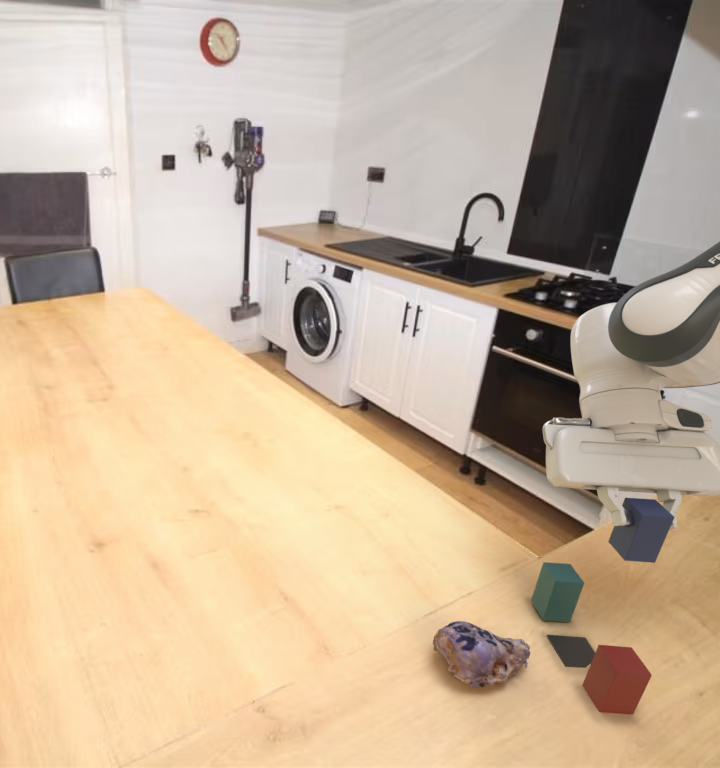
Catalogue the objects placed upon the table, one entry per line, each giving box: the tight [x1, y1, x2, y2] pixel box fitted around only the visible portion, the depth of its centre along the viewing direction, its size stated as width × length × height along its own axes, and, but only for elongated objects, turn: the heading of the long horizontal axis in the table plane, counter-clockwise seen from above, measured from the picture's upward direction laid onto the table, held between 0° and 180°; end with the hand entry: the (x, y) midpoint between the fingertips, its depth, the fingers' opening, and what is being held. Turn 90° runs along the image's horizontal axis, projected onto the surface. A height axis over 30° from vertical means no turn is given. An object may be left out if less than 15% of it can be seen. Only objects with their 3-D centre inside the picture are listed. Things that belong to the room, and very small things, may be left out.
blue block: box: [607, 497, 674, 564], centre depth 67 cm, size 4×4×7 cm
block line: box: [530, 561, 653, 715], centre depth 68 cm, size 5×17×7 cm, turn 174°
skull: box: [432, 620, 531, 688], centre depth 66 cm, size 12×8×6 cm, turn 90°
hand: (645, 527), depth 66 cm, fingers closed on blue block, 3 cm apart
